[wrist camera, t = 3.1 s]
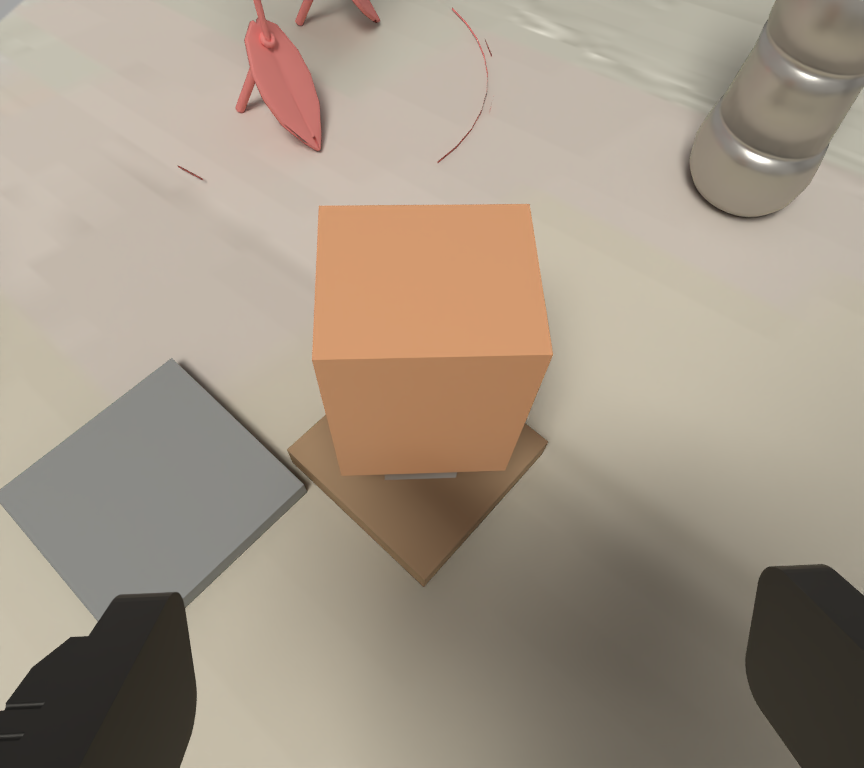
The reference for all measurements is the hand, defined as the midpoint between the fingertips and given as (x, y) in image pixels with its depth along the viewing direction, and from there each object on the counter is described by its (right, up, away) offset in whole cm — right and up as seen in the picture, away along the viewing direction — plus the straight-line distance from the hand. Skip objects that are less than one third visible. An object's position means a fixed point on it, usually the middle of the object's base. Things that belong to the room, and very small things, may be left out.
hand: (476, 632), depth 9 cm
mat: (-12, -1, +19) cm, 23 cm away
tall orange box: (-1, +2, +16) cm, 16 cm away
